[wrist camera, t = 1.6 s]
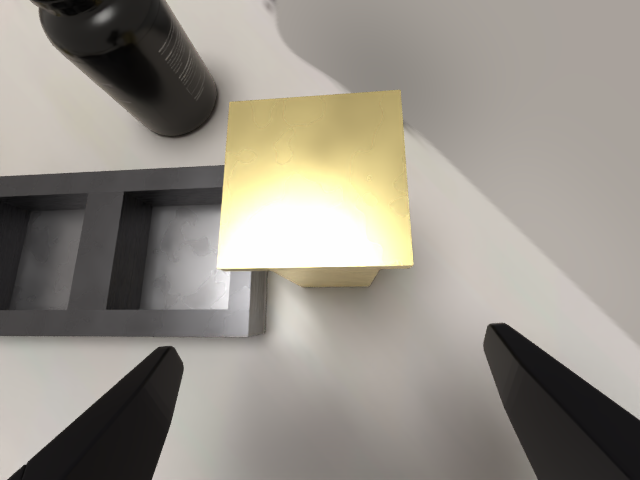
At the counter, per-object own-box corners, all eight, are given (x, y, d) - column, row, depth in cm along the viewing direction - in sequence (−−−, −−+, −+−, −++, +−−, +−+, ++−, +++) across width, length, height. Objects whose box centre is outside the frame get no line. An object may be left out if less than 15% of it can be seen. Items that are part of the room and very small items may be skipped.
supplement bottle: (180, 54, 27) (49, -146, 15) (236, 94, 25) (136, -94, 14) (123, 110, 26) (-62, -55, 14) (177, 155, 24) (18, 12, 13)
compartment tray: (265, 333, 21) (248, 336, 17) (-5, 332, 22) (-68, 335, 19) (270, 185, 23) (256, 163, 20) (27, 196, 25) (-24, 177, 22)
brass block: (376, 294, 20) (413, 265, 8) (294, 294, 21) (216, 268, 9) (373, 214, 22) (400, 89, 10) (296, 217, 22) (229, 101, 10)
